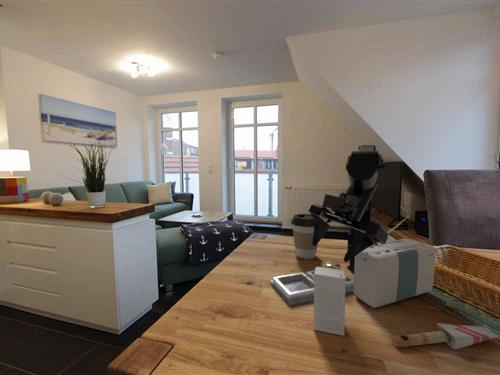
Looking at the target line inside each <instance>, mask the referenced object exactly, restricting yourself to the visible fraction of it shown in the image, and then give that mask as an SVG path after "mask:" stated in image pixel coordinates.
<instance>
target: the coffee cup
mask: <svg viewBox="0 0 500 375" xmlns="http://www.w3.org/2000/svg"><path fill="white" fill-rule="evenodd" d="M290 220H291V221H290V224H291V226H292V233H293V243H294V250H295V255H297V256H298V257H297V256H296V257H297V258H299V257H300V258H299V259H301V258H305V259H304V260H312V259H311V258H313V259H315V258H316V255H317V252H318V246H319V245H318V244H319V243H318V244H317V245H316V246H313V245H312V241H313V234H314V219H313V217H312V216H311V213H298V214H294V215H293V217H292V218H291V219H290ZM314 257H315V258H314Z"/></svg>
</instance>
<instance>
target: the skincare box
mask: <svg viewBox="0 0 500 375" xmlns="http://www.w3.org/2000/svg"><path fill="white" fill-rule="evenodd" d="M314 270H315V273H314V302H313V330H314V331H319V332H322V333H323V332H324V333H328V334H334V335H336V336H337V335H339V336H342V337H343V336H345V326H346V325H345V321H346V320H345V319H346V295H345V285H346V277H345V274H346V273H345V271H346V270H345V269H340V270H339V269H331V268H323V267H322V266H316V267H315V268H314Z"/></svg>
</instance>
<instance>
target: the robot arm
mask: <svg viewBox="0 0 500 375" xmlns="http://www.w3.org/2000/svg"><path fill="white" fill-rule="evenodd" d="M382 169H383V170H384V169H385V160H384V158H383V156H382V154H380V153H379V151H378V150H377V148H376V145H374V144H367V145H366V144H365V145H364V144H362V145H360V146H358V149H357V150H356V151H355V150H353V151H351V152H350V155H348V156H347V160H346V164H345V170H346V172H347V177H348V182H349V183H348V184H349V185H348V187H347V189H346V191H345V192H341V193H339V196H336V195H331V194H328V193H325V195H324V196H323V197H324V198H323V202H322V205H321V204H318V203H313V204H311V205H310V206H309V208H308V210H307V212H309V214H311V216H312V217H313V219H314V234H313V241H312V245H313V246H316V245H317V244H319V243H320V242H321V240H322V239H323V237H324V235H325V234H326V232H328V230H329V229H330V227H331V225H330V224H329V223H332V222H335V223H338V224H341V225H343V226H346V227H349V228H350V232H348V233H347V250H346V252H345V255H344V257H343V262H345V263H348V262H349V265H346V268H347V269H349V271H351V272H353V273H354V267H355V256H356V255H357V254H359V253H360V252H362V251H363V250H365V249H367V248H368V247H370V246H372V245H376V246H377V245H378V243H381V244H385V243H386V242H387V241H388V239H389V234H388V233H387V232H388V231H387V230H386V229H385V228H384V227H383V225H381V224H380V223H379V222H375V221H374V220H373V221H372V199H373V198H372V197H373V195H374V193H375V192H376V190H377V187H378V186H379V184H378V181H377V179H378V177H379V172H381V171H382ZM333 212H334V213H333ZM377 242H378V243H377Z"/></svg>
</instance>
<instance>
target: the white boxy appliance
mask: <svg viewBox="0 0 500 375" xmlns="http://www.w3.org/2000/svg"><path fill="white" fill-rule="evenodd" d="M410 217H411V216H410V215H407V216H406V218H404V219H403V220H401V221H400V222H398V223H397V224H396V225H395V226H393V227H392V228H391V229H389V230H388V231H387V233H388V235H389V234H390V233H392V232H393V231H394V230H395V229H396V228H398V227H399V226H400V225H401V224H402V223H403V222H405V221H406V219H408V218H410ZM377 243H378V242H377ZM435 267H436V249H435V247H434V246H433V245H430V244H428V243H424V242H420V241H418V240H413V239H410V238H400V239H394V240H389V241H388V240H387V241H386V243H385V244H381V243H378V245H377V246H376V245H372V246H370V247H368V248H367V249H365V250H363V251H362V252H360V253H359V254H357V255H356V256H355V267H354V272H353V273H354V274H353V279H354V293H353V294H354V295H355V296H356V297H357V298H359V300H361V301H362V302H363V303H365V304H367V305H368V306H370V307H371V308H372V309H376V308H379V307H383V306H387V305H389V304H393V303H396V302H400V301H403V300H406V299H409V298H413V297H416V296H419V295H422V294H426V293H429V292H431V291H432V289H433V286H434V281H435V280H434V278H435V270H436V269H435Z"/></svg>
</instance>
